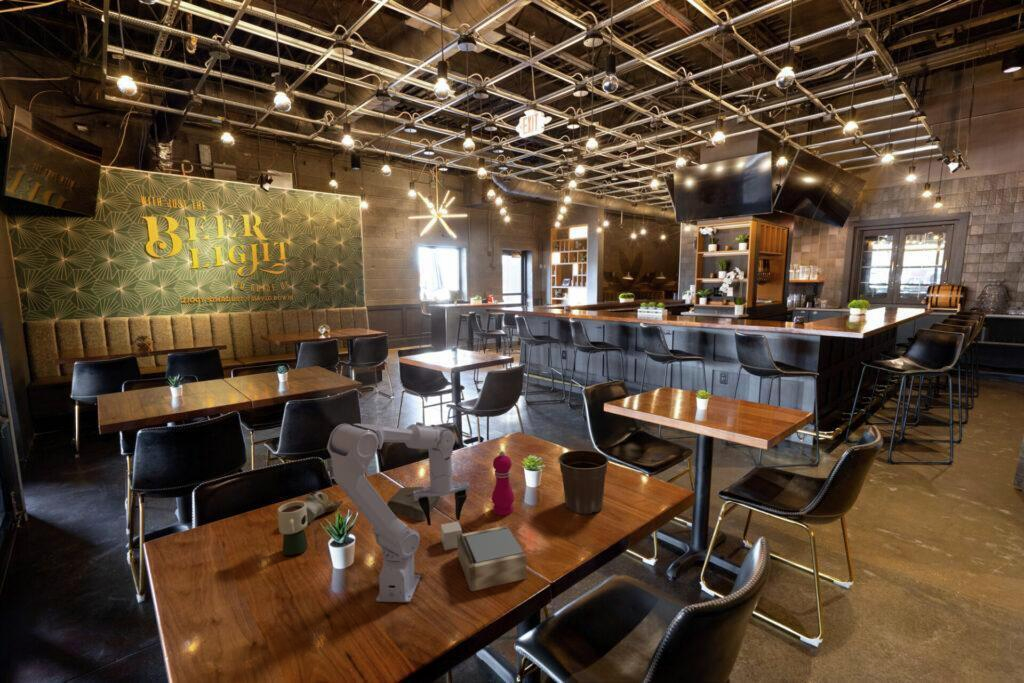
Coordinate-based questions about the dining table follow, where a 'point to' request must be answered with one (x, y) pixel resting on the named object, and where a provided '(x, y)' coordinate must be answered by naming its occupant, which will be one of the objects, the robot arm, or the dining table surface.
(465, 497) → the robot arm
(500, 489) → the pepper mill
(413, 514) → the dark grey rock slab
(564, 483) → the plant pot
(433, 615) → the dining table surface
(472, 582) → the frame
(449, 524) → the pale grey cube
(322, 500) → the ceramic sculpture
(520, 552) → the trapdoor flap
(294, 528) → the character mug
